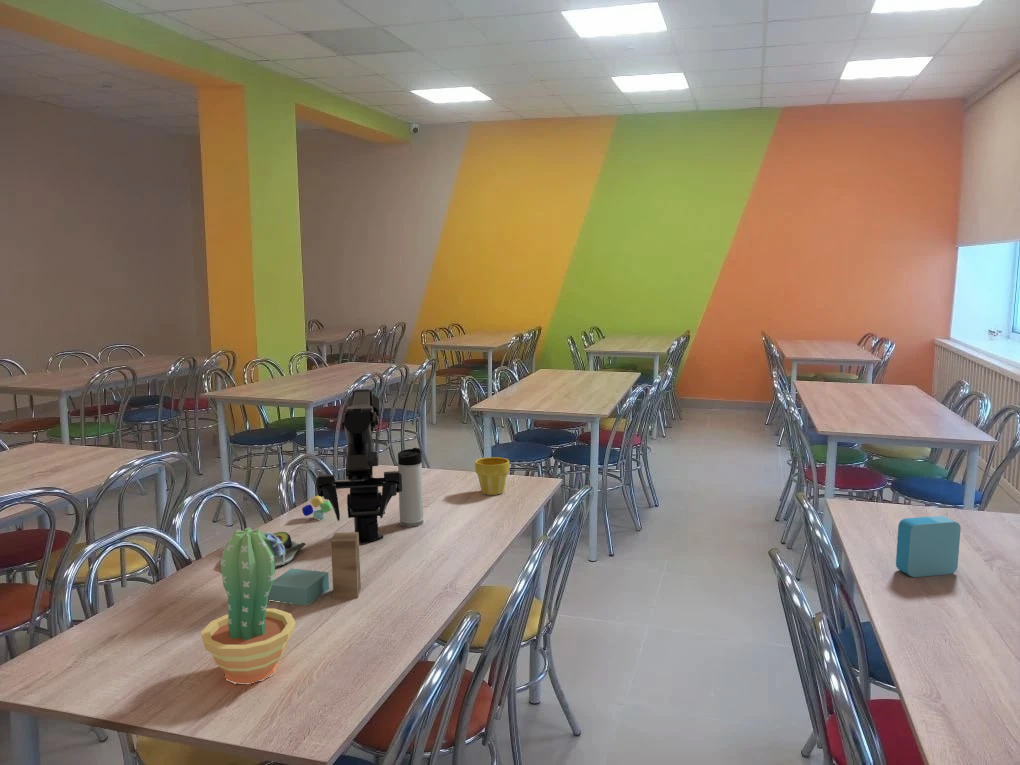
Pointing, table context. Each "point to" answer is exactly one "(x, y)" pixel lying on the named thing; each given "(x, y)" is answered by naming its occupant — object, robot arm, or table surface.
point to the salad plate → (287, 548)
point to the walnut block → (345, 565)
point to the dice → (317, 502)
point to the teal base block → (299, 586)
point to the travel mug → (411, 487)
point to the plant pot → (492, 474)
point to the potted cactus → (249, 610)
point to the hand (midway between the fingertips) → (359, 518)
